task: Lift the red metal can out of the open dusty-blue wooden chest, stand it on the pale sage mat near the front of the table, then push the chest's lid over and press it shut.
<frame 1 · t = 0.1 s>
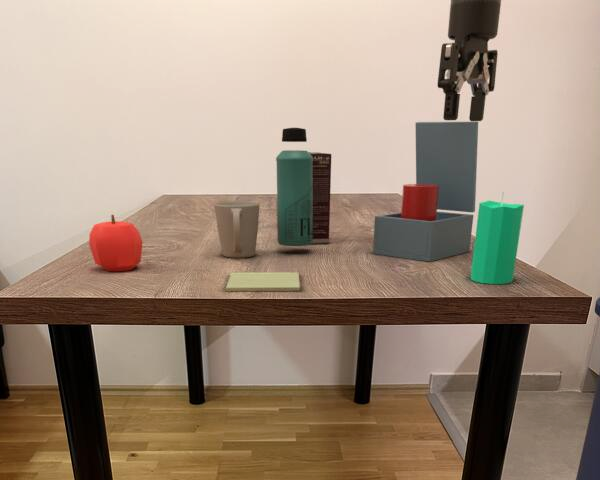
hand: (463, 120, 104), 21 cm above the table, tool pointing down, fingers open, 8 cm apart
mat: (264, 283, 90), on the table
lid: (445, 167, 111), point 14 cm above the table, hinge at 80.0°
chest: (421, 252, 113), on the table
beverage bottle: (294, 253, 114), on the table
candle: (491, 280, 93), on the table
can: (415, 249, 112), point 1 cm above the table, touching chest
apple: (119, 269, 99), on the table
supplement box: (313, 241, 125), on the table
cup: (238, 257, 109), on the table
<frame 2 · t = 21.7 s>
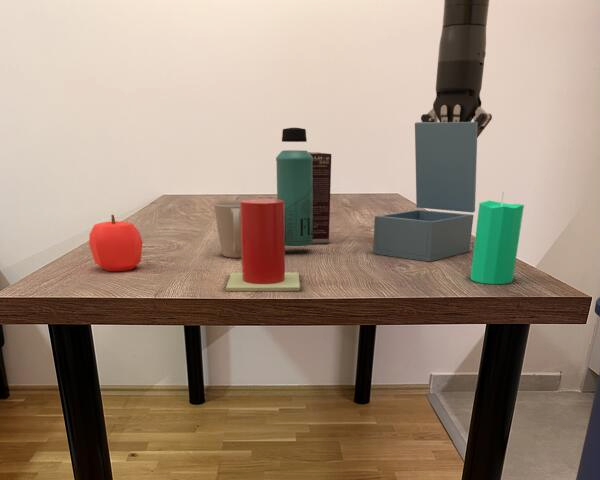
hand: (450, 173, 113), 13 cm above the table, tool pointing down, fingers closed
lid: (445, 167, 111), point 14 cm above the table, hinge at 79.1°, touching gripper
can: (263, 279, 90), resting on mat
everything else where it was.
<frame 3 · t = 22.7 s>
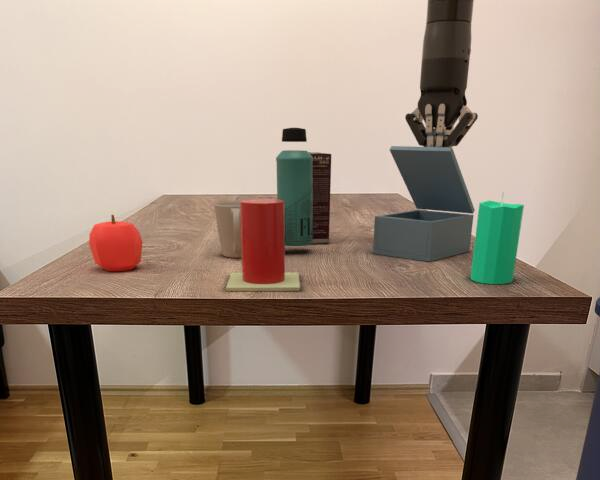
hand: (435, 174, 109), 13 cm above the table, tool pointing down, fingers closed
lid: (432, 180, 110), point 12 cm above the table, hinge at 45.3°, touching gripper
everything else where it was.
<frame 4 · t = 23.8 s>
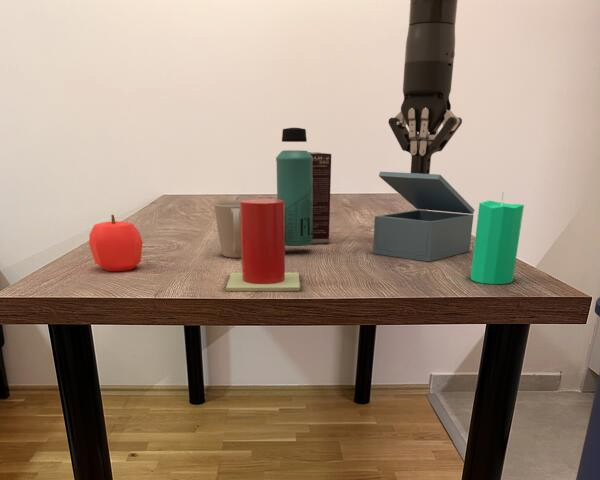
hand: (419, 179, 106), 12 cm above the table, tool pointing down, fingers closed
lid: (427, 193, 109), point 10 cm above the table, hinge at 25.9°, touching gripper
everything else where it was.
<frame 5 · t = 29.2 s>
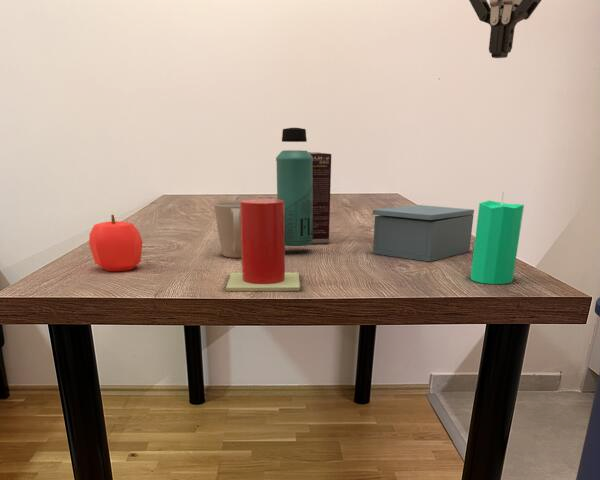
hand: (499, 57, 90), 29 cm above the table, tool pointing down, fingers closed
lid: (423, 212, 110), point 7 cm above the table, hinge at 1.1°
everything else where it was.
at the end: can inside the target area on the mat (0.1 cm from its centre), point 0.5 cm above the mat's base; can tilted 0°; lid at +1° (first picture: +80°) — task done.
